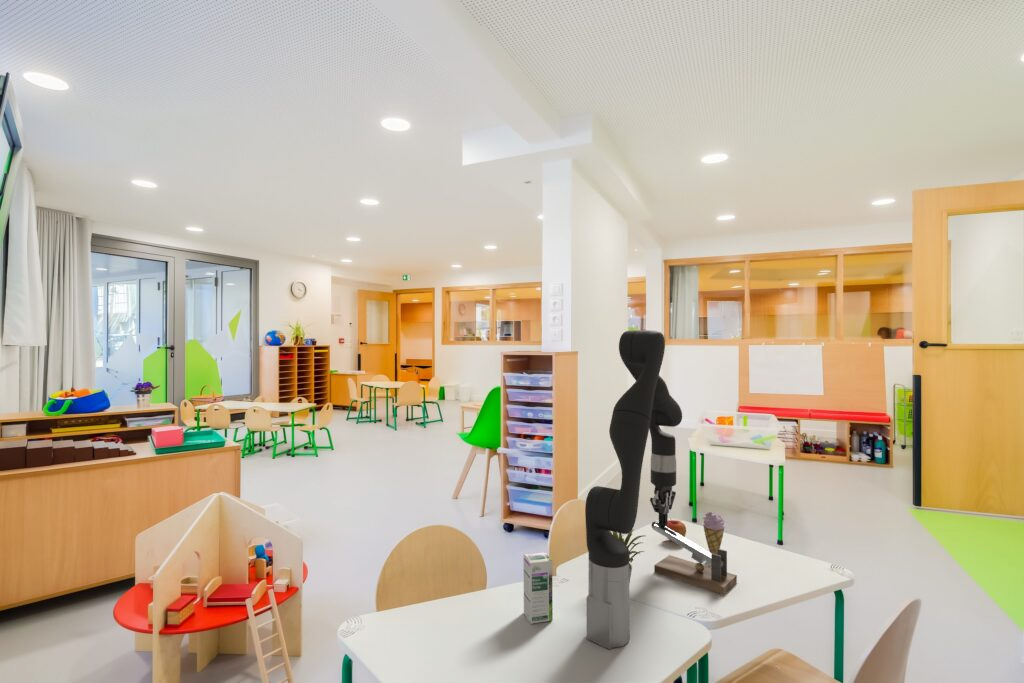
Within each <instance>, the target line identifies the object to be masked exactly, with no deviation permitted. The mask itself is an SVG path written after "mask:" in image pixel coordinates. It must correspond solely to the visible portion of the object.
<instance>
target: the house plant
mask: <svg viewBox="0 0 1024 683" xmlns="http://www.w3.org/2000/svg"><path fill="white" fill-rule="evenodd" d="M634 530H635V528H633V529H632V530H631V532H630V533H628V534H626V537H623V534H622V533H617V532H613V531H612V535H613V536H614V537H615V538H617V539H618V540H619V541H621V542H622V543H624V544H625V545H626V546H627V547H628V549H629V548H630V547H631V545H633V546H632V547H631V548H630V549H629V554H630V555H632V554H633V555H632V556H631V557H630V561H629V585H630V583H631V577H632V570H633V565H632V562H633V561H634V557H635V556H637V555H638V554H639V555H640V556H642V555H641V553H645V551H644V550H640V551H636V550H633V549H634V547H636V546H638V545H639V544H643V542H641V541H640V542H637V543H634V542H635V541H637V540H639V538H643V537H645V535H644V534H643V535H638V536H636V537H634V538H633V539H632V540H631V541H630V539H631V537H632V535H633V531H634ZM629 541H630V542H629Z"/></svg>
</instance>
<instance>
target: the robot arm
mask: <svg viewBox="0 0 1024 683" xmlns="http://www.w3.org/2000/svg"><path fill="white" fill-rule="evenodd" d="M618 351H619V356H620V358H621V360H622V363H623V365H624V366H625V367H626V369H627V370H628V371H629V373H630V375H631V376H632V377H633V378H634V380H635V382H634V383H633V384H632V385H631V386H630V387H629V388H628V389H627V390H626V391H625V393H623V394H622V395H621V397H619V399H618V400H617V402H616V403H615V405H614V407H613V409H612V415H611V419H610V425H609V431H608V432H609V437H610V441H611V444H612V447H613V449H614V451H615V454H616V456H617V459H618V462H619V465H620V469H621V484H620V489H618V488H617V489H616V488H611V487H605V486H599V485H596V486H592V488H590V490H589V491H588V493H587V496H586V500H585V505H584V506H585V510H584V513H585V516H584V517H585V534H586V535H585V536H586V548H587V551H588V575H587V576H588V578H587V579H588V582H587V583H588V588H587V589H588V595H587V596H586V639H587V640H589V641H591V642H593V643H595V644H597V645H599V646H601V647H603V648H605V649H607V650H612V649H613V648H620V647H623V646H626V645H627V644H628V643H629V642H630V636H631V635H630V632H631V631H630V630H631V629H630V627H631V626H630V625H631V624H630V622H631V620H630V619H631V618H630V617H631V616H630V613H631V612H630V610H631V609H630V607H631V606H630V604H631V602H630V584H629V563H630V558H631V557H630V555H631V554H629V551H630V549H629V548H628V547H627V546H628V545H627V546H626V545H625V544H624V543H622V542H621V541H619V540H618V539H617V538H615V537H614V536H613V532H617V534H619V533H621V534H622V535H628V533H630V532H631V530H633V529H634V527H635V524H636V520H637V515H638V508H639V497H640V488H641V479H642V478H641V476H642V469H643V461H644V457H645V453H646V452H645V450H646V447H647V442H648V438H649V434H650V439H651V454H650V455H651V456H650V483H651V484H652V485H653V486H654V491H653V494H654V496H653V497H650V498H649V503H650V505H651V507H652V509H653V510H654V512H655V513H658V522H659V525H660V526H663V527H665V526H667V525H668V521H669V519H668V517H669V516H668V514H669V513H670V510H672V508H673V505H674V502H675V498H676V495H677V492H676V491H674V490H673V487H675V486H676V485H677V459H676V458H677V457H676V452H677V451H676V448H677V447H676V442H677V441H676V438H675V436H674V434H670V433H667V432H664V431H663V430H662V429H661V427H670V428H675V427H678V426H679V425H680V424H681V422H682V420H683V411H682V409H681V406H680V405H679V403H678V402H677V401H676V400H675V398H673V397H672V396H671V394H670V391H669V389H668V385H667V384H666V381H665V380H664V379H663V377H661V376H660V372H661V369H662V364H663V360H664V357H665V351H666V338H665V336H664V334H663V333H662V331H659V330H646V329H644V330H642V329H641V330H626V331H624V332H623V333H622V334H621V336H620V338H619V342H618Z"/></svg>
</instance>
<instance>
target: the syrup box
mask: <svg viewBox="0 0 1024 683" xmlns="http://www.w3.org/2000/svg"><path fill="white" fill-rule="evenodd" d="M522 558H523V559H522V560H523V613H524V615H525V617H526V618H527V621H528V623H529V624H530V625H533V624H538V623H544V622H545V623H546V622H552V621H553V615H554V614H553V609H554V608H553V559H551V557H550V556H549V554H547V553H546V551H544V552H539V553H538V552H537V553H529V554H527V553H525V554H523V557H522Z"/></svg>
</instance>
